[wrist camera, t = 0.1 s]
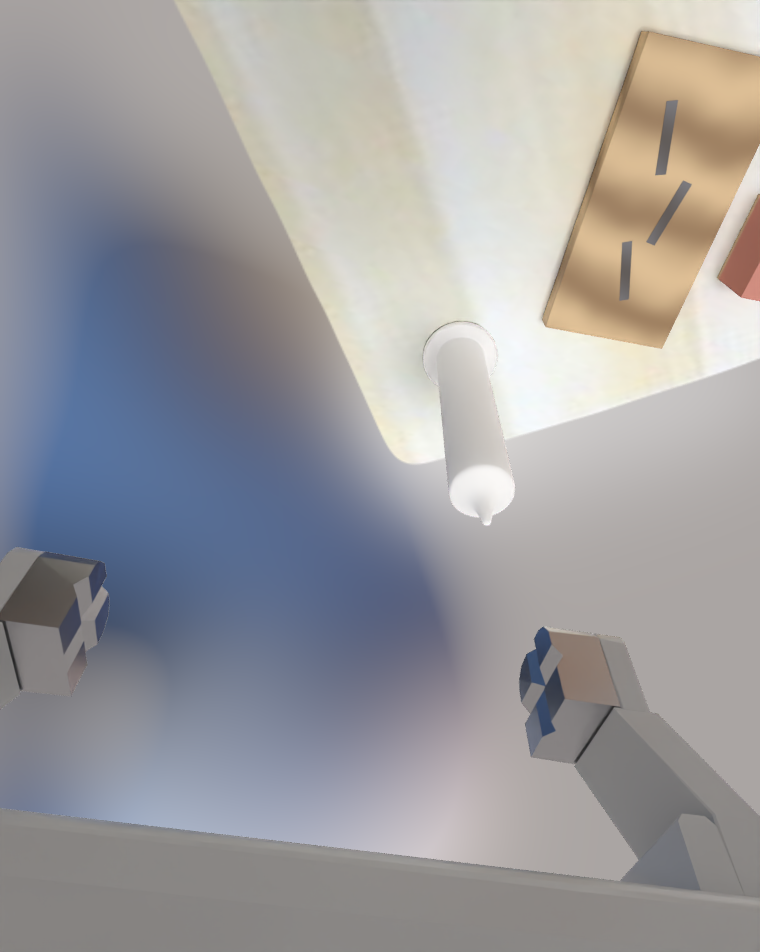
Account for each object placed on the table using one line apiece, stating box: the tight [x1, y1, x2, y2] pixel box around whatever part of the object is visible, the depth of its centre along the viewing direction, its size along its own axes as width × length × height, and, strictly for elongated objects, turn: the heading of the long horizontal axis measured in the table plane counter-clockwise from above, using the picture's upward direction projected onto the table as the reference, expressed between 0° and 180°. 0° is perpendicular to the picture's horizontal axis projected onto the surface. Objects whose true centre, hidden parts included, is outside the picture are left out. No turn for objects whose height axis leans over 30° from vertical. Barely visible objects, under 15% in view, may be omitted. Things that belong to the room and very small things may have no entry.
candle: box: [423, 322, 515, 526], centre depth 50 cm, size 7×7×25 cm
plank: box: [542, 31, 760, 349], centre depth 51 cm, size 22×11×2 cm, turn 170°
